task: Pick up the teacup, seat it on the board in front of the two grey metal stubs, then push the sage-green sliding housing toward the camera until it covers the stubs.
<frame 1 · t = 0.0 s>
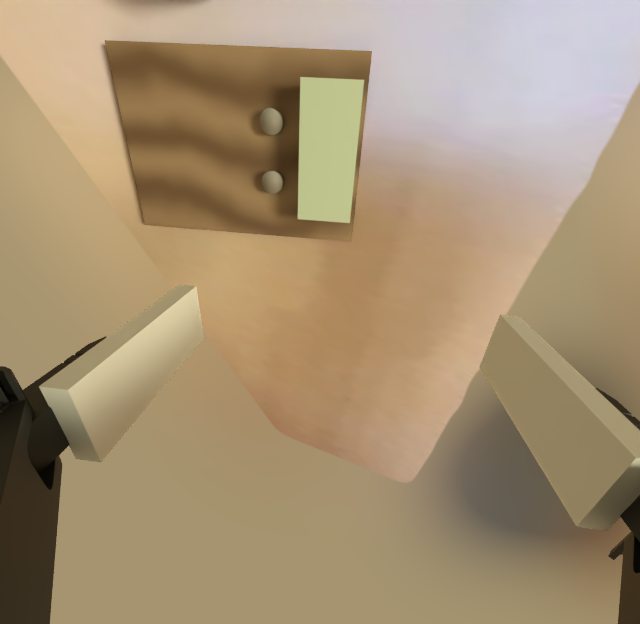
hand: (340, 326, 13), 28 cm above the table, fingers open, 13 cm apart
housing: (328, 157, 32), point 3 cm above the table, slide at 0.0 cm
board: (244, 151, 35), on the table
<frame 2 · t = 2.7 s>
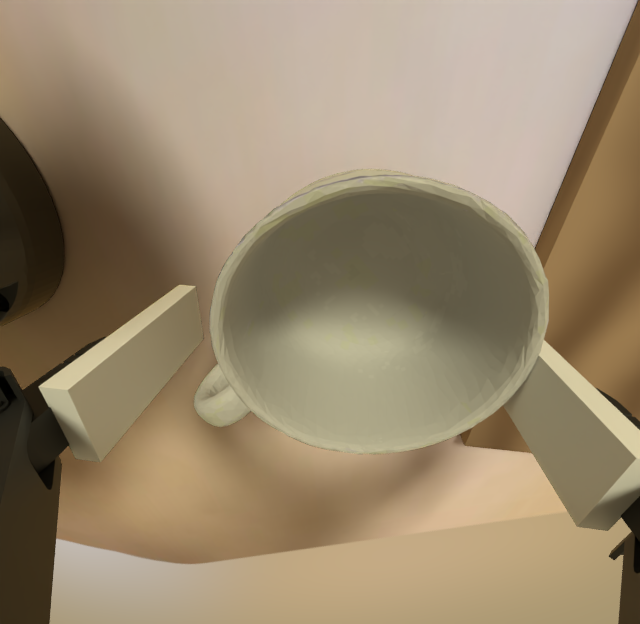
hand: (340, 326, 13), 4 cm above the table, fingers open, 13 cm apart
teacup: (335, 279, 17), on the table
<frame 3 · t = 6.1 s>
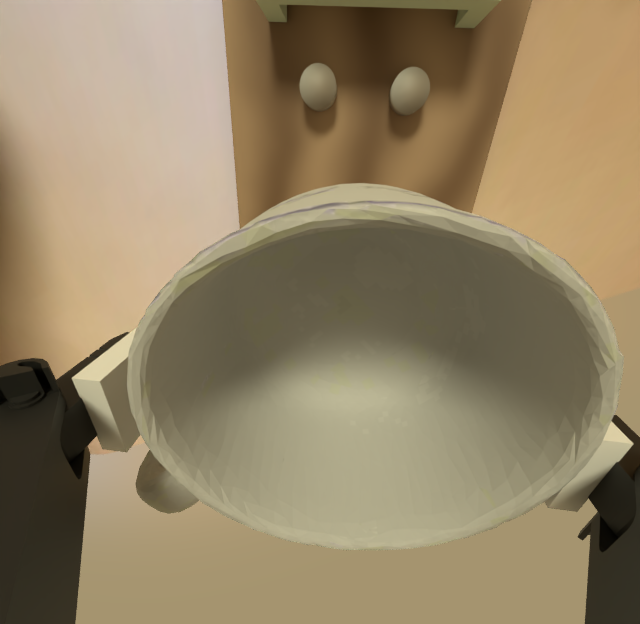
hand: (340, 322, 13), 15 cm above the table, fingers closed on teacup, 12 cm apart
board: (356, 158, 23), on the table
teacup: (323, 310, 14), point 14 cm above the table, touching gripper
when the fingers open (2 cm above the table, at t = 8.7 s): teacup stays where it is, resting on board.
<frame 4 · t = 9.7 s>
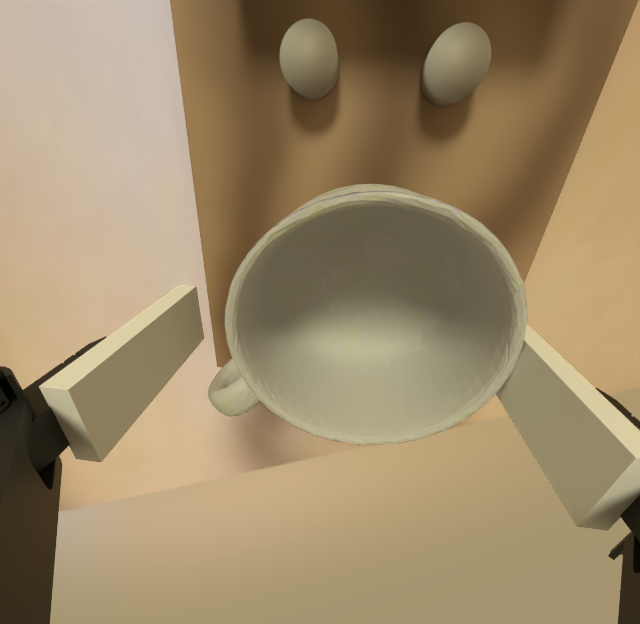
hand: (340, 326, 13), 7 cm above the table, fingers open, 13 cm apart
board: (367, 169, 16), on the table
teacup: (339, 284, 18), point 1 cm above the table, touching board, gripper
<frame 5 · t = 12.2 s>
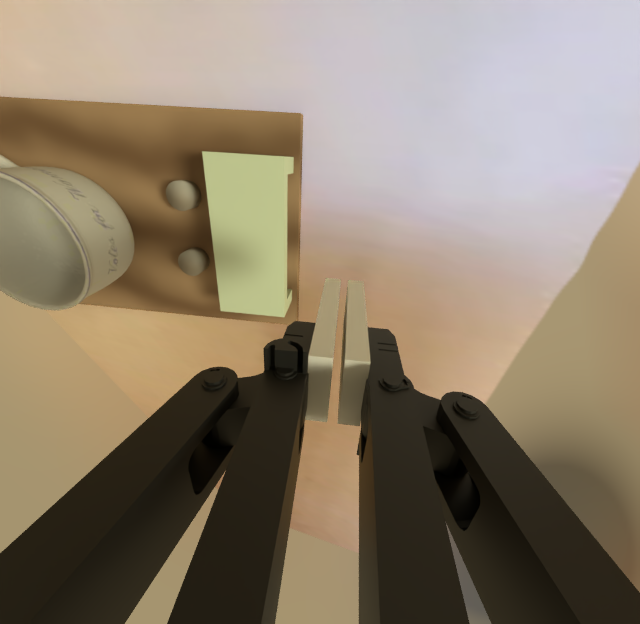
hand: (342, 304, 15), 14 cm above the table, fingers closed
housing: (254, 238, 25), point 3 cm above the table, slide at 0.0 cm
board: (160, 222, 29), on the table
teacup: (87, 210, 28), point 1 cm above the table, touching board
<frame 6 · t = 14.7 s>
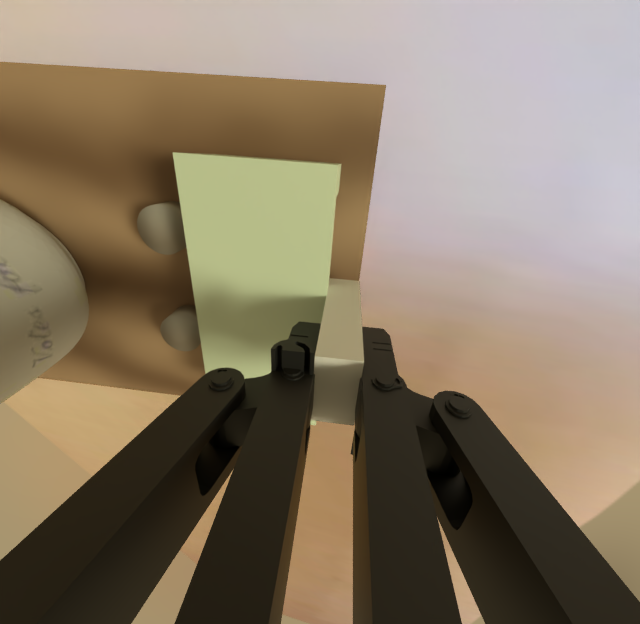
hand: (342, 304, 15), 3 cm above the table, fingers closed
housing: (269, 300, 15), point 3 cm above the table, slide at 1.1 cm, touching gripper
board: (133, 264, 18), on the table
teacup: (15, 245, 17), point 1 cm above the table, touching board
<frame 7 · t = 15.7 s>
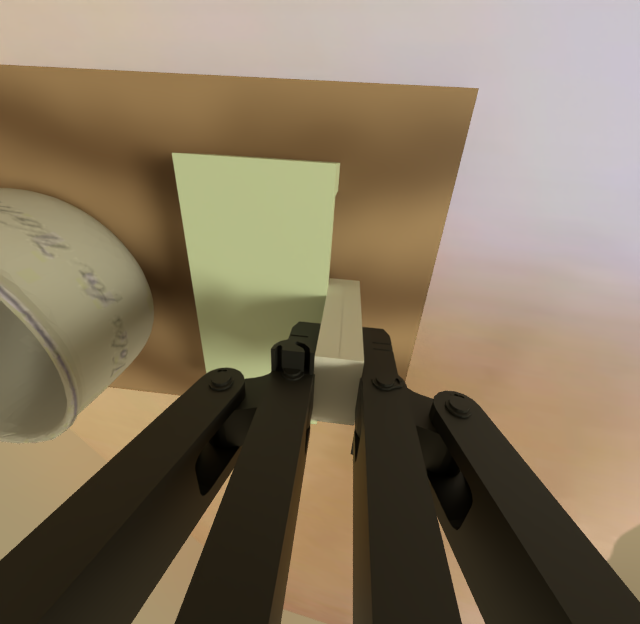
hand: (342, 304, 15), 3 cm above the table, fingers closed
housing: (269, 300, 15), point 3 cm above the table, slide at 4.8 cm, touching gripper
board: (192, 270, 18), on the table
teacup: (76, 252, 17), point 1 cm above the table, touching board
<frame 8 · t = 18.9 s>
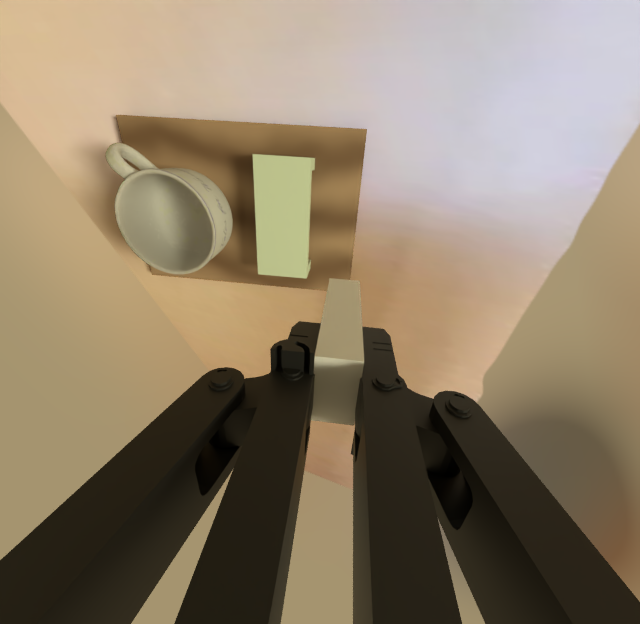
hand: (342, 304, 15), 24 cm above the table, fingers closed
housing: (285, 218, 34), point 3 cm above the table, slide at 4.9 cm
board: (246, 211, 37), on the table
teacup: (193, 201, 36), point 1 cm above the table, touching board
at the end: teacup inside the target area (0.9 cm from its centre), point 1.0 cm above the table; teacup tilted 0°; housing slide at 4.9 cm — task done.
